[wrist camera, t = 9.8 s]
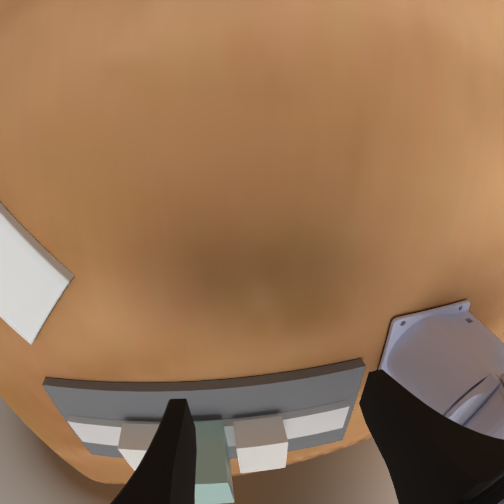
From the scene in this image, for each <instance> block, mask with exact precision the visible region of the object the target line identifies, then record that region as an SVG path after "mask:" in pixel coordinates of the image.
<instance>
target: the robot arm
mask: <svg viewBox="0 0 504 504" xmlns="http://www.w3.org/2000/svg"><path fill="white" fill-rule="evenodd" d="M469 307H470V302H469V301H468V300H465V301H461V302H457V303H454V304H450V305H446V306H442V307H438V308H434V309H430V310H426V311H422V312H418V313H413V314H409V315H405V316H400V317H396V318H395V319H393V321H392V322H391V326H390V330H389V334H388V337H387V341H386V345H385V348H384V352H383V355H382V359H381V362H380V365H379V369H378V370H376V371H373V372H369V374H368V377H367V381H366V384H365V387H364V390H363V394H362V397H361V400H360V403H359V404H360V407H361V410H362V413H363V416H364V419H365V422H366V424H367V426H368V428H369V430H370V432H371V434H372V436H373V438H374V440H375V442H376V444H377V446H378V448H379V450H380V452H381V454H382V456H383V458H384V460H385V462H386V465H387V467H388V470H389V473H390V476H391V479H392V481H393V485H394V488H395V491H396V495H397V499H398V502H399V504H504V344H503V342H502V341H501V340H500V339H499V338H498V337H497V336H496V335H494V334H493V333H492V332H491V331H490V330H489V329H488V328H487V327H486V326H485V325H484V324H483V323H481V322H480V321H479V320H478V319H477V318H476V317H475V316H474V315H473V314H471V313H470V312H469V311H468V310H469ZM402 321H403V322H402ZM401 322H402V323H401ZM196 457H197V444H196V428H195V425H194V421H193V418H192V415H191V412H190V409H189V406H188V402H187V399H186V398H184V399H170V400H169V401H168V404H167V407H166V409H165V412H164V415H163V417H162V420H161V422H160V424H159V427H158V429H157V431H156V433H155V435H154V437H153V440H152V442H151V444H150V446H149V448H148V449H147V451H146V453H145V455H144V457H143V458H142V460H141V462H140V464H139V465H138V467H137V469H136V470H135V472H134V473H133V475H132V476H131V478H130V479H129V481H128V482H127V484H126V485H125V487H124V488H123V489H122V490H121V491H120V493H119V494H118V495H117V497H116V498H115V499H114V500H113V501H112V503H111V504H195V477H196Z"/></svg>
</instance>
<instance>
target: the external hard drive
mask: <svg viewBox="0 0 504 504" xmlns="http://www.w3.org/2000/svg"><path fill="white" fill-rule="evenodd" d="M73 278H74V275H73V274H72V273H71V272H70V271H69V270H68V269H66V268H65V267H64V266H63V265H62V264H61V263H60V262H59V261H58V260H57V259H56V258H54V257H53V256H52V255H51V254H50V253H49V252H48V251H47V250H46V249H45V248H44V247H43V246H42V245H41V244H40V243H39V242H38V241H37V240H36V239H35V238H34V237H33V236H32V235H31V234H30V233H29V232H28V231H27V230H26V229H25V228H24V227H23V226H22V225H21V224H20V223H19V222H18V221H17V220H16V219H15V218H14V217H13V216H12V215H11V214H10V212H9V211H8V210H7V209H6V208H5V207H4V206H3V205H2V204H1V202H0V317H1V318H2V319H3V320H4V321H5V322H6V323H7V324H8V325H9V326H11V327H12V328H13V329H14V330H15V331H16V332H17V333H18V334H19V335H21V336H22V337H23V338H24V339H25V340H26V341H27V342H29V343H30V344H31V345H32V344H33V342H34V340H35V339H36V337H37V335H38V334H39V332H40V330H41V328H42V327H43V325H44V323H45V322H46V320H47V318H48V316H49V315H50V313H51V312H52V310H53V308H54V307H55V305H56V303H57V302H58V300H59V299H60V297H61V296H62V294H63V292H64V291H65V289H66V288H67V286H68V285H69V283H70V282H71V280H72V279H73Z"/></svg>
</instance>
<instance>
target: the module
mask: <svg viewBox="0 0 504 504" xmlns="http://www.w3.org/2000/svg"><path fill="white" fill-rule="evenodd" d="M194 425H195V428H196V444H197V457H196V477H195V504H218V503H234V494H233V484H232V475H231V466H230V456H229V448H228V443H227V439H226V434H225V430H224V425H223V421H222V420H221V421H207V422H194Z"/></svg>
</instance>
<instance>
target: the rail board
mask: <svg viewBox="0 0 504 504" xmlns="http://www.w3.org/2000/svg"><path fill="white" fill-rule="evenodd" d="M365 367H366V366H365V364H364V362H363V361H362V359H356V360H352V361H347V362H342V363H337V364H332V365H327V366H321V367H316V368H310V369H304V370H298V371H291V372H284V373H277V374H270V375H262V376H253V377H244V378H234V379H222V380H209V381H192V382H164V383H122V382H96V381H80V380H67V379H56V378H47V377H46V378H45V380H44V382H43V384H42V385H43V387H44V389H45V390H46V392H47V393H48V395H49V397H50V398H51V400H52V401H53V403H54V404H55V406H56V407H57V409H58V410H59V412H60V413H61V414H62V416H63V417H64V419H65V420H66V422H67V423H68V424H69V426H70V427H71V428H72V430H73V431H74V432H75V434H76V435H77V436H78V438H79V439H80V440H81V441H82V443H83V444H84V445H85V446H86V448H87V449H88V450H89V451H90V452H91V454H94V455H101V456H109V457H118V458H125V459H126V461H127V462H128V463H129V465H130V466H131V467H132V468H133V470H134V471H135V470H136V469H137V467H138V465H139V464H140V462H141V460H142V458H143V457H144V455H145V453H146V451H147V449H148V448H149V446H150V444H151V442H152V440H153V437H154V435H155V433H156V431H157V429H158V427H159V424H160V422H161V420H162V417H163V415H164V412H165V409H166V407H167V404H168V401H169V400H170V399H184V398H186V399H187V402H188V406H189V409H190V412H191V415H192V418H193V421H194V422H207V421H221V420H222V421H223V425H224V430H225V434H226V439H227V443H228V448H229V456H230V459H232V458H238V462H239V467H240V473H247V472H256V471H264V470H271V469H278V468H284V467H285V466H286V457H287V452H288V451H294V450H299V449H304V448H309V447H314V446H319V445H323V444H328V443H332V442H336V441H340V440H342V439H343V436H344V434H345V431H346V428H347V425H348V422H349V419H350V416H351V413H352V410H353V407H354V404H355V401H356V398H357V395H358V391H359V388H360V385H361V381H362V378H363V374H364V371H365Z"/></svg>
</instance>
